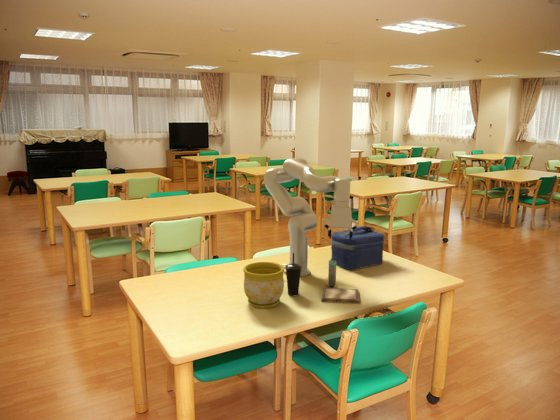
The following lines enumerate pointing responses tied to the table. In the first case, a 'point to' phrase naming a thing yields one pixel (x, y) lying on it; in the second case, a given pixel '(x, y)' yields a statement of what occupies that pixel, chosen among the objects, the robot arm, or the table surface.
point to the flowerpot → (263, 283)
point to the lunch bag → (357, 248)
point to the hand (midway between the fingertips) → (340, 238)
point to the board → (340, 295)
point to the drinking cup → (293, 277)
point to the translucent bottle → (332, 274)
